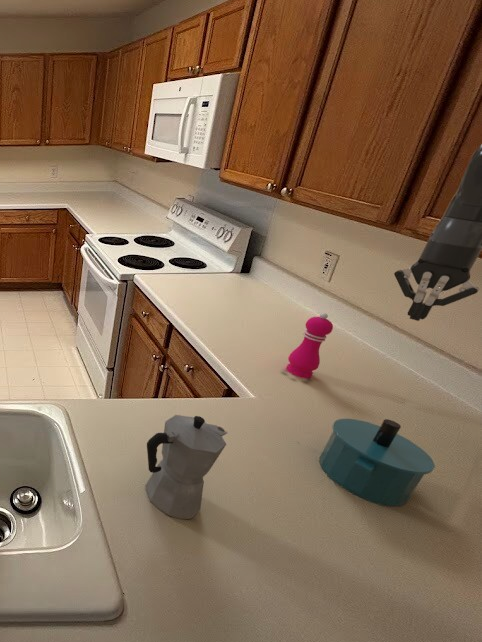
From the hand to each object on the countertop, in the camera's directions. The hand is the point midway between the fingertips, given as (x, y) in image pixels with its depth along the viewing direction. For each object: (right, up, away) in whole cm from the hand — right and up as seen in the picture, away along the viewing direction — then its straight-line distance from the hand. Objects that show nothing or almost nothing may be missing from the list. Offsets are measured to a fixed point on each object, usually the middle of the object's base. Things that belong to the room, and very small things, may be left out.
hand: (414, 319), depth 89 cm
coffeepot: (-61, -32, -15) cm, 70 cm away
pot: (-17, -32, -6) cm, 37 cm away
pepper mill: (+1, -18, +33) cm, 38 cm away
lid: (-16, -24, -9) cm, 31 cm away
